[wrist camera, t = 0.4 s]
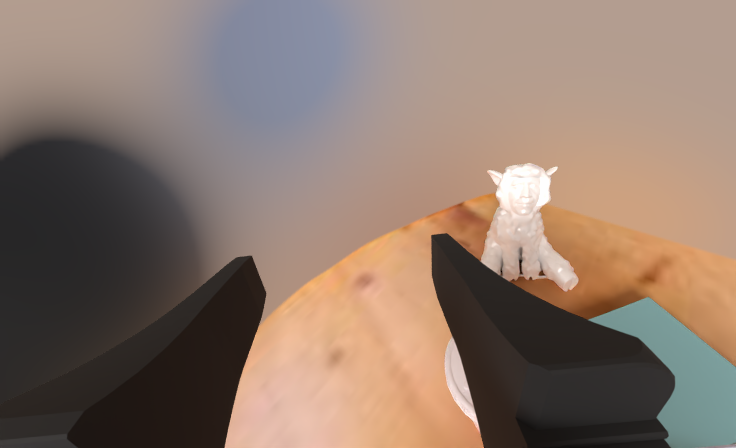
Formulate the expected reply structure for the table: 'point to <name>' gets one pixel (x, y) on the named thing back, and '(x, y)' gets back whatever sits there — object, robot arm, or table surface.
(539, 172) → the seated beast figurine
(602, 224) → the table surface
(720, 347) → the table surface
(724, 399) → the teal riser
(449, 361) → the smoothie
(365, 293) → the table surface
